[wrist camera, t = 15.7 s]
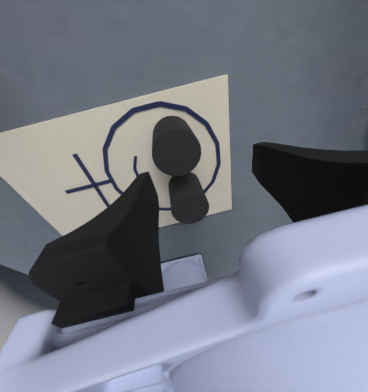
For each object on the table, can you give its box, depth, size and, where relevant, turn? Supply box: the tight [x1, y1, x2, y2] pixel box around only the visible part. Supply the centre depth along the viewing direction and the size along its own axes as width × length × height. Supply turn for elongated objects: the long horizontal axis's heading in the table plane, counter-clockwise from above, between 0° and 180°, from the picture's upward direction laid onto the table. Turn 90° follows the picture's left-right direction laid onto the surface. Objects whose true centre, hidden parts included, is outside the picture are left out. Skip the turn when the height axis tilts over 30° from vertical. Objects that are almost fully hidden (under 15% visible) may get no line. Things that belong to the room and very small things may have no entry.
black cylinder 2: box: [168, 172, 209, 224], centre depth 17 cm, size 4×4×4 cm
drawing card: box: [0, 74, 232, 236], centre depth 18 cm, size 15×22×1 cm
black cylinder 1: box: [152, 116, 201, 176], centre depth 14 cm, size 4×4×4 cm
